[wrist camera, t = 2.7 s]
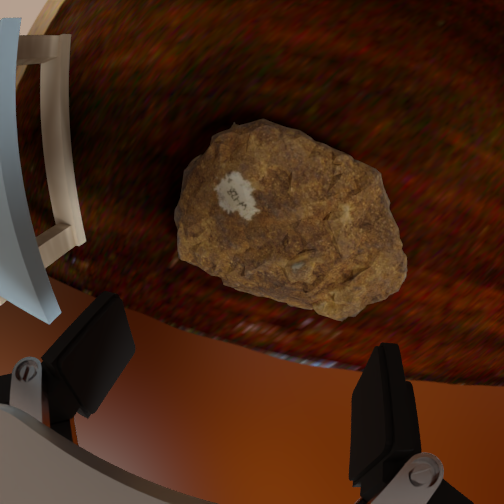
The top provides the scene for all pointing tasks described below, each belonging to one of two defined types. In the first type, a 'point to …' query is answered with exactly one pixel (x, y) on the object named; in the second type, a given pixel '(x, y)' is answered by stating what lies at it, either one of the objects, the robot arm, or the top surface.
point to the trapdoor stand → (55, 142)
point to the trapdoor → (17, 201)
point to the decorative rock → (290, 221)
